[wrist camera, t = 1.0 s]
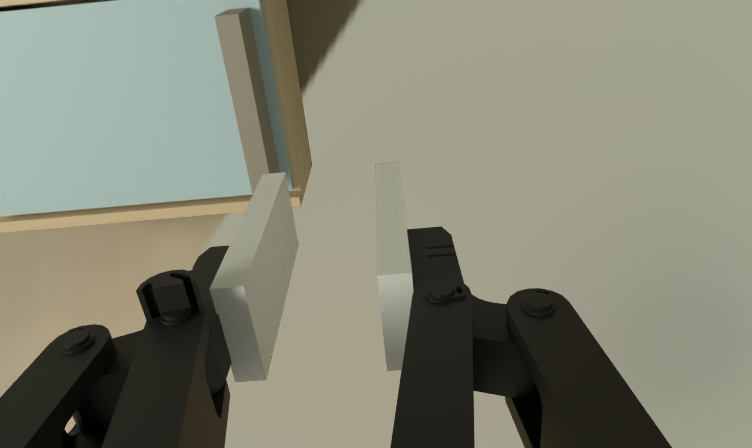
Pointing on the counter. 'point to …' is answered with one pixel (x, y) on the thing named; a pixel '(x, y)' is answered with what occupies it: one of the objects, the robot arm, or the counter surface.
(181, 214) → the wooden box
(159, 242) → the counter surface
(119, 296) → the counter surface
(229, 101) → the lid
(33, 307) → the counter surface
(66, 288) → the counter surface
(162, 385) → the robot arm
